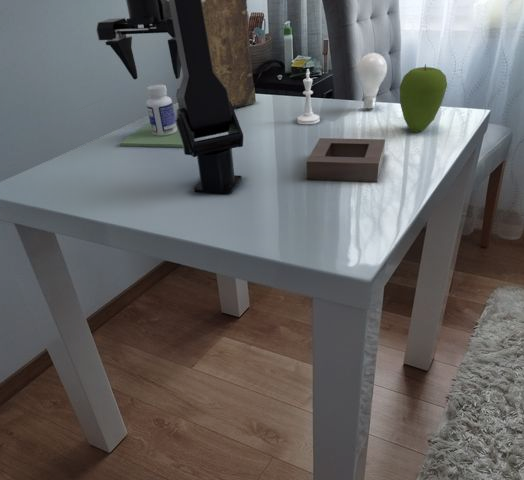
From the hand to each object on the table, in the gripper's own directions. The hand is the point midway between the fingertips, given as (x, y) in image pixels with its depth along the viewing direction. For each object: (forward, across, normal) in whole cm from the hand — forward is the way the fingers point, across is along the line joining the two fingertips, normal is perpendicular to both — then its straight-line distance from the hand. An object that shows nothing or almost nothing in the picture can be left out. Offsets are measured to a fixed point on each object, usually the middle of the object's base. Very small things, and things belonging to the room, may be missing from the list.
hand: (156, 78), depth 100 cm
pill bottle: (+11, +1, 0) cm, 11 cm away
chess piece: (+11, -28, -11) cm, 33 cm away
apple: (+11, -51, -6) cm, 53 cm away
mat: (+11, +1, 0) cm, 11 cm away
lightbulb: (+11, -40, -20) cm, 47 cm away
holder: (+11, -40, +15) cm, 44 cm away
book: (+11, -5, -20) cm, 24 cm away
